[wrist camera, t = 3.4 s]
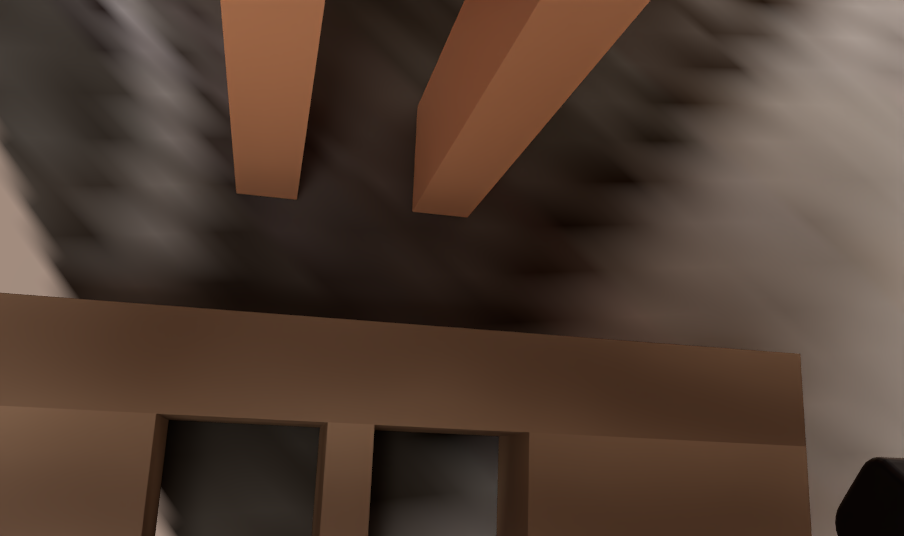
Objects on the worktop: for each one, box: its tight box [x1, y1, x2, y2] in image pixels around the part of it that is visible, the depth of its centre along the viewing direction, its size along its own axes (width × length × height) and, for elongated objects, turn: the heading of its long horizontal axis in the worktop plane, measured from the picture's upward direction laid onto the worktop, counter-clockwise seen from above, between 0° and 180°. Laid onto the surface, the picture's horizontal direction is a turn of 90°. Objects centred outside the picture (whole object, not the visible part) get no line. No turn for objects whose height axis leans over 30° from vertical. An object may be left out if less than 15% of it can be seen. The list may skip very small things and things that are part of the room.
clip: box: [221, 0, 650, 217], centre depth 16 cm, size 3×6×13 cm, turn 87°
